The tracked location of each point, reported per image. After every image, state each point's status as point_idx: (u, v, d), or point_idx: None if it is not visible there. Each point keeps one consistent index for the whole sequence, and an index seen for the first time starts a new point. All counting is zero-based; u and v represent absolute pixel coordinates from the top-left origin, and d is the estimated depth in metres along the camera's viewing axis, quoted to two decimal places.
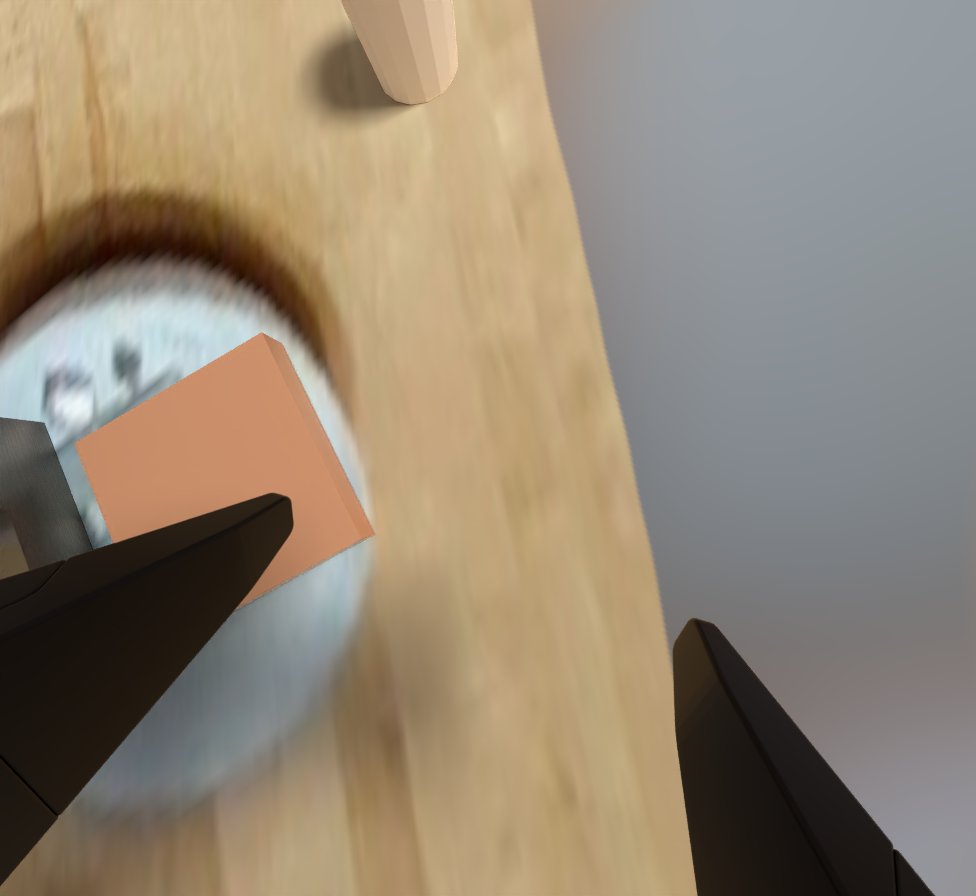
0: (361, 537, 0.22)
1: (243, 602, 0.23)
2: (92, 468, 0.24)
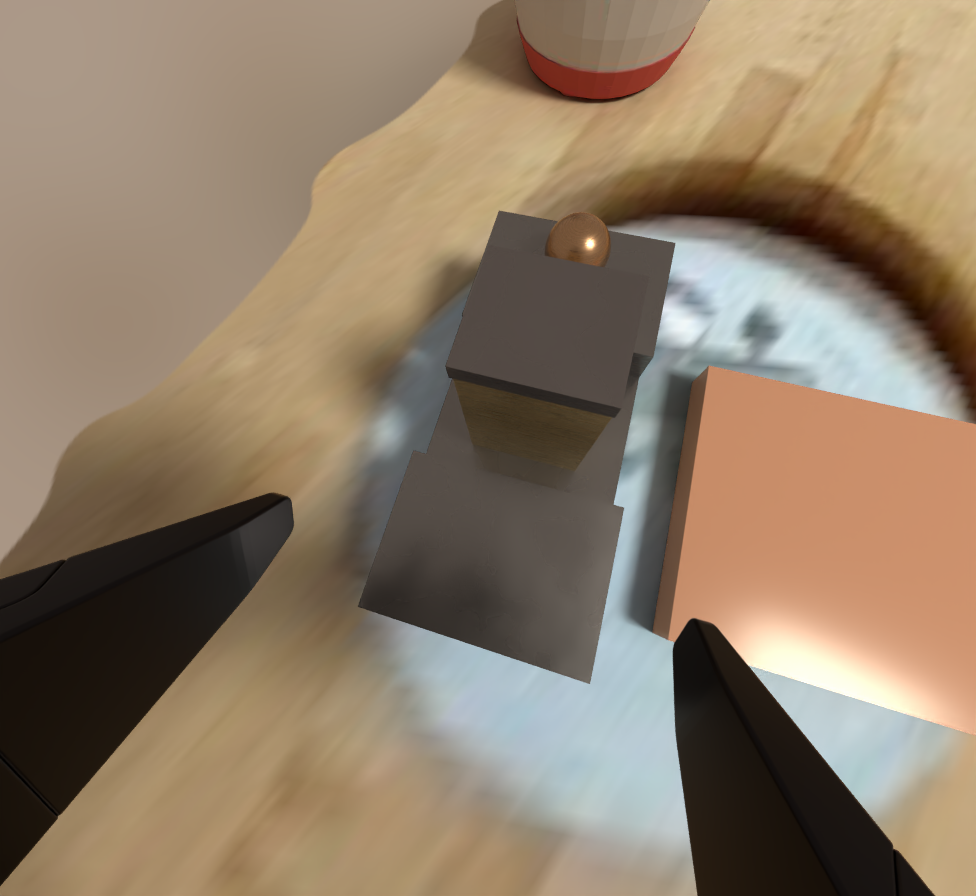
0: None
1: (814, 683, 0.17)
2: (713, 402, 0.20)
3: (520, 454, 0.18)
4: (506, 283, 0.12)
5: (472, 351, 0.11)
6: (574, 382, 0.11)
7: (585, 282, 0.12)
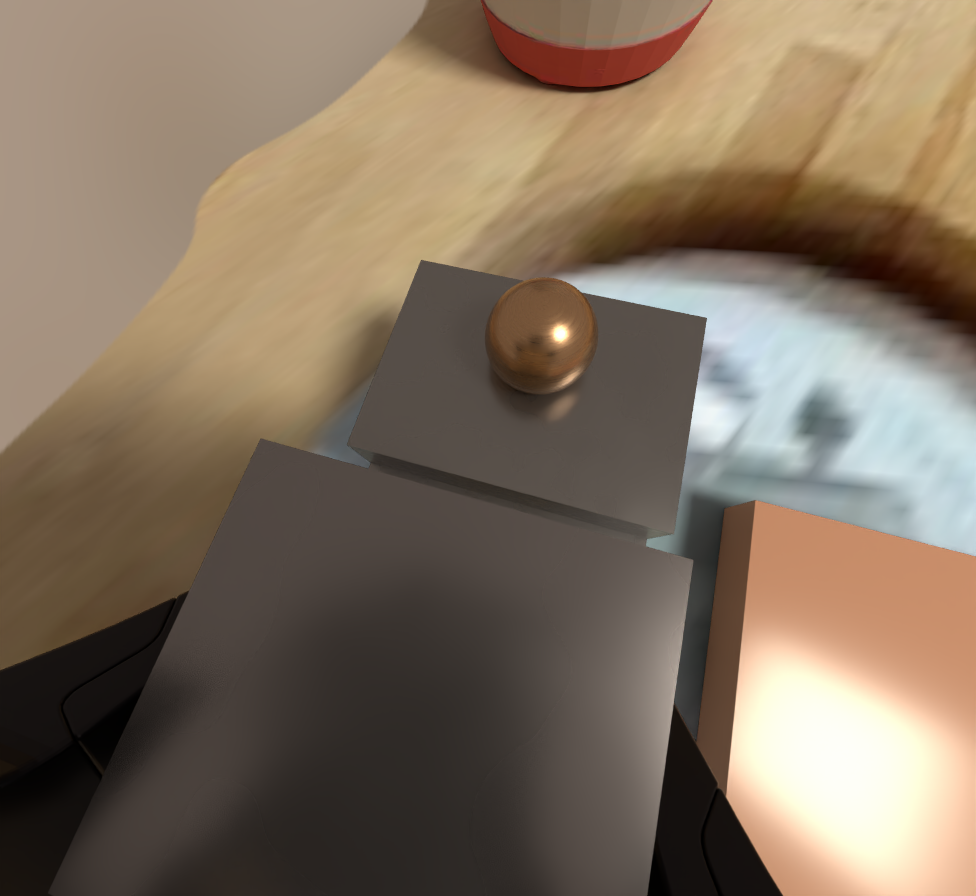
0: None
1: None
2: (765, 565, 0.13)
3: None
4: (287, 569, 0.04)
5: (143, 832, 0.04)
6: None
7: (508, 575, 0.04)
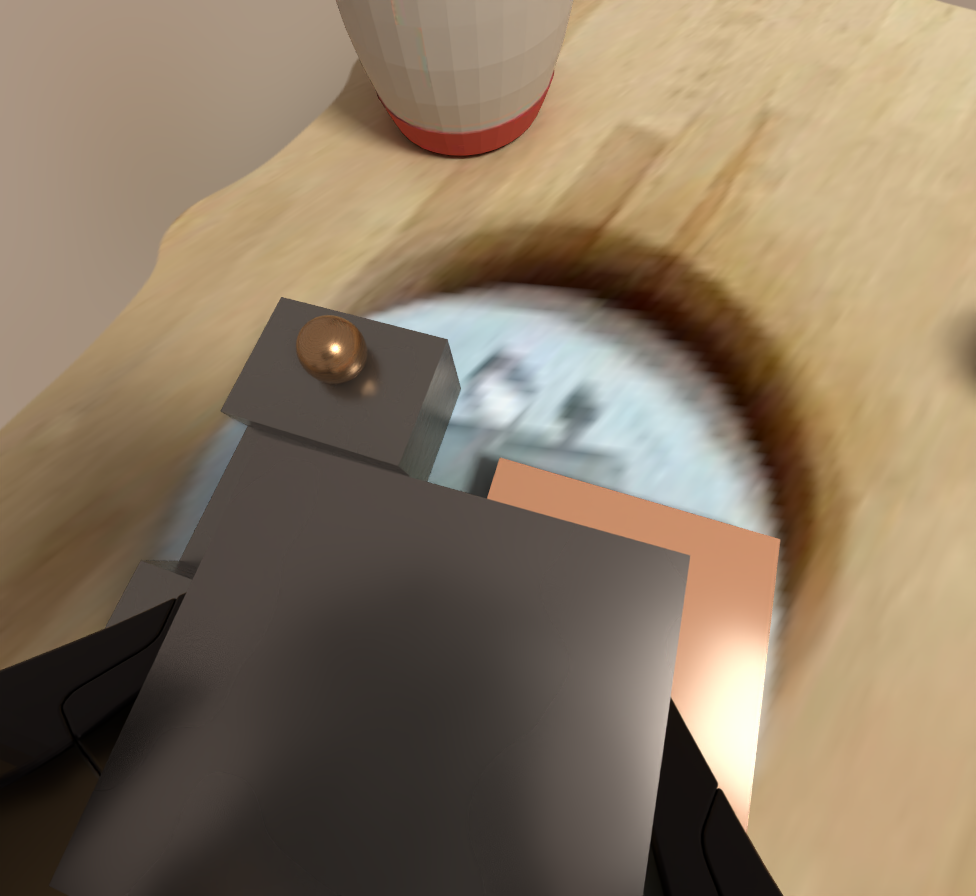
0: None
1: None
2: (497, 498, 0.20)
3: None
4: (286, 564, 0.04)
5: (143, 825, 0.04)
6: None
7: (506, 570, 0.04)
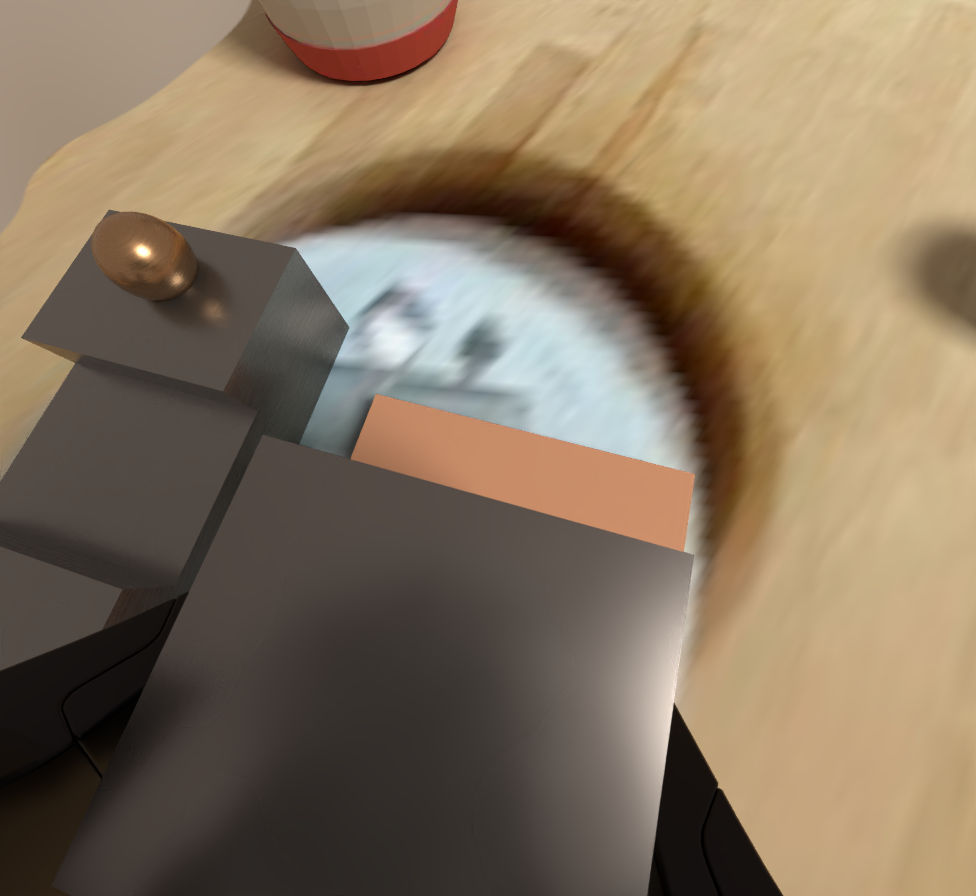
0: None
1: None
2: (370, 439, 0.17)
3: None
4: (289, 564, 0.04)
5: (146, 826, 0.04)
6: None
7: (509, 570, 0.04)
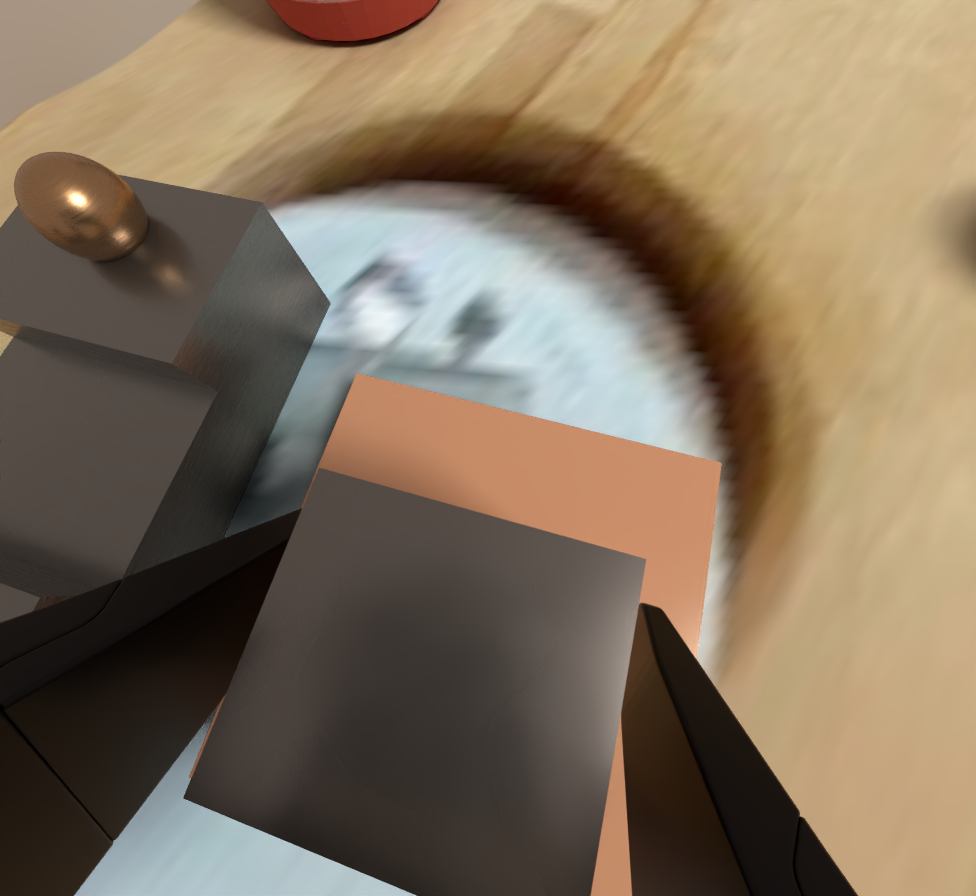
0: None
1: None
2: (349, 423, 0.15)
3: None
4: (344, 567, 0.06)
5: (248, 756, 0.05)
6: (469, 867, 0.05)
7: (509, 570, 0.05)
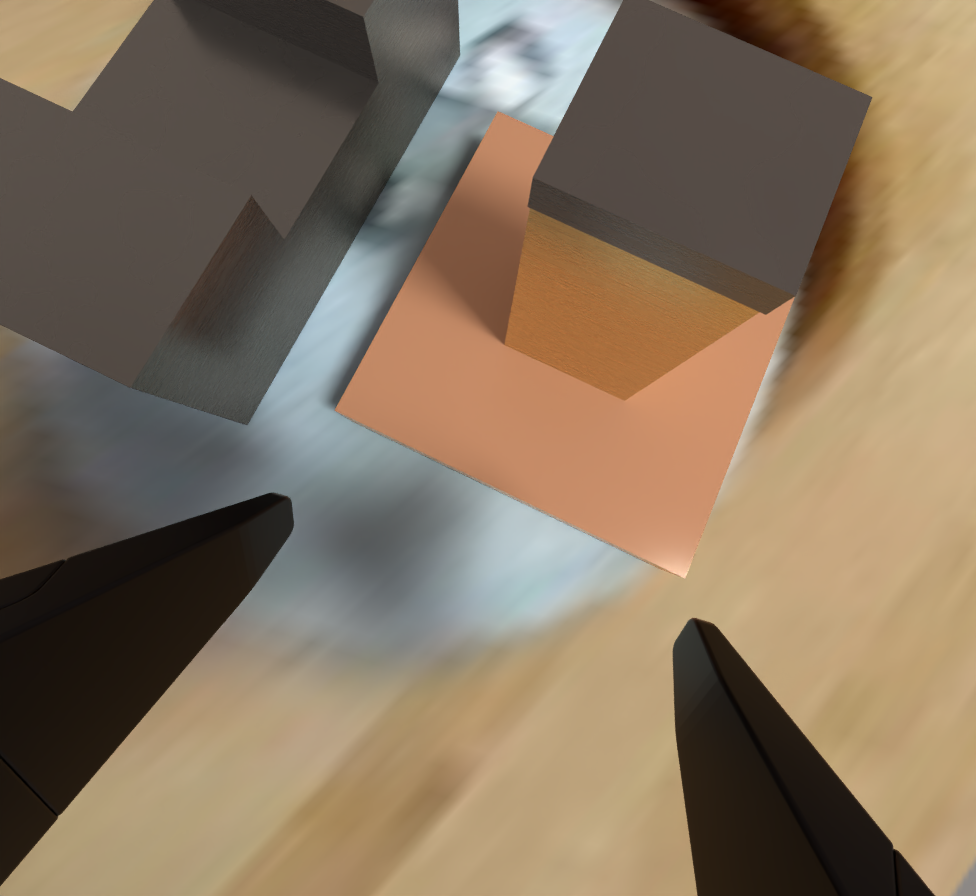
0: None
1: (485, 480, 0.14)
2: (487, 156, 0.16)
3: (563, 368, 0.14)
4: (648, 62, 0.07)
5: (578, 162, 0.07)
6: (731, 242, 0.07)
7: (772, 86, 0.07)
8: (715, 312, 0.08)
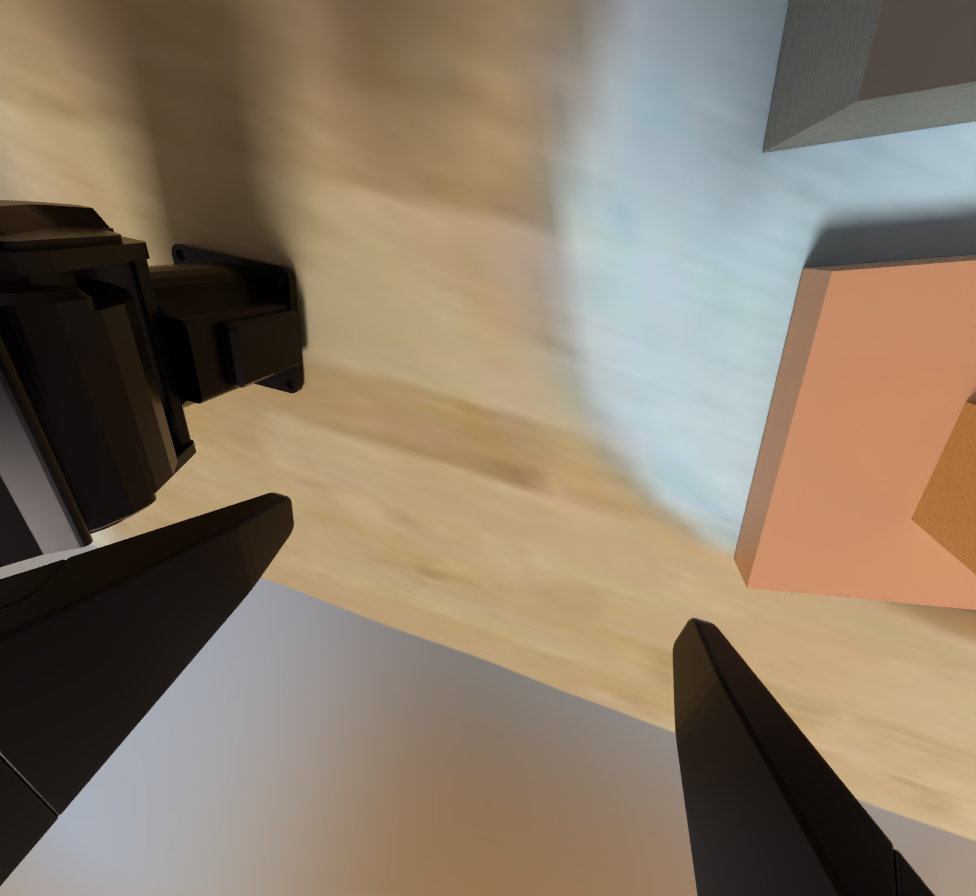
0: None
1: (788, 440, 0.15)
2: None
3: (945, 467, 0.14)
4: None
5: None
6: None
7: None
8: None
